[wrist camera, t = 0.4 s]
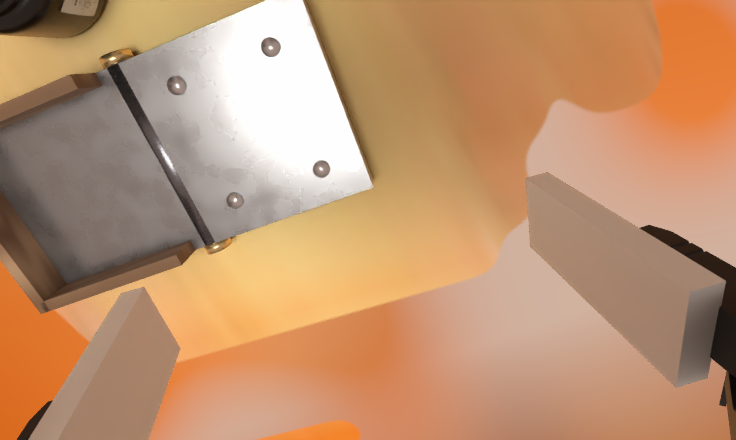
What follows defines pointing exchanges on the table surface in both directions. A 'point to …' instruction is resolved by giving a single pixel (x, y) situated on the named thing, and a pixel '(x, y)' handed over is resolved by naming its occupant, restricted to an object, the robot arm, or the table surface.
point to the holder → (22, 252)
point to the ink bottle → (48, 17)
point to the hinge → (186, 144)
